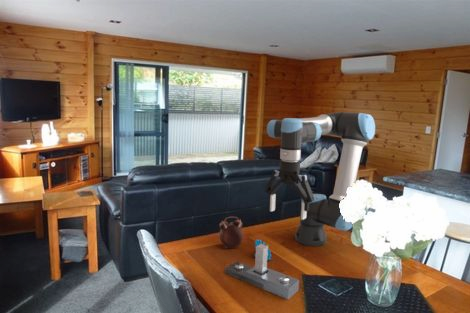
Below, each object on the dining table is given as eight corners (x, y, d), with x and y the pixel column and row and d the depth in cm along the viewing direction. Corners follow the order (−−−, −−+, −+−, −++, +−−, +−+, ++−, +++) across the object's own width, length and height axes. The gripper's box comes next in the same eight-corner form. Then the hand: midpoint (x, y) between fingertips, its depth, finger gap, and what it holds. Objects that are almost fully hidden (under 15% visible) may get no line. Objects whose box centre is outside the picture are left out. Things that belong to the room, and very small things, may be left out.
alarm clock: (240, 244, 163) (241, 214, 161) (243, 249, 159) (244, 217, 156) (217, 246, 161) (218, 215, 158) (220, 250, 156) (221, 219, 154)
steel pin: (259, 278, 133) (260, 243, 131) (266, 281, 131) (268, 246, 129) (254, 281, 131) (256, 246, 129) (261, 284, 129) (263, 248, 127)
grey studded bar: (237, 265, 143) (237, 254, 142) (298, 290, 126) (299, 277, 125) (224, 272, 136) (225, 261, 135) (287, 299, 120) (288, 286, 119)
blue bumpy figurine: (267, 261, 144) (253, 240, 147) (256, 268, 146) (243, 248, 149) (276, 255, 154) (263, 235, 157) (266, 261, 156) (254, 243, 159)
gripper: (256, 157, 133) (255, 209, 137) (316, 166, 118) (313, 225, 122) (267, 154, 139) (265, 205, 143) (325, 163, 124) (322, 219, 128)
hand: (287, 214), depth 133 cm, fingers open, 13 cm apart
